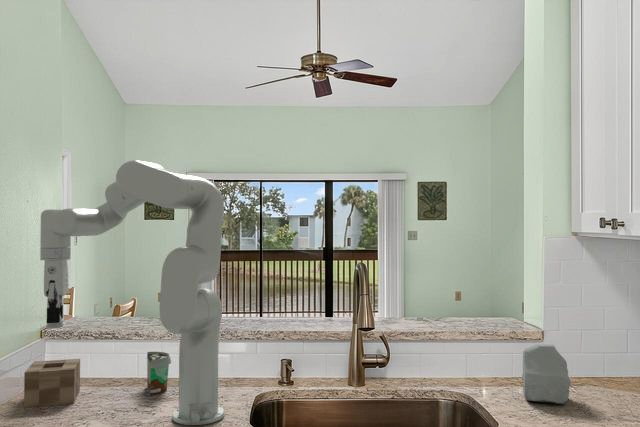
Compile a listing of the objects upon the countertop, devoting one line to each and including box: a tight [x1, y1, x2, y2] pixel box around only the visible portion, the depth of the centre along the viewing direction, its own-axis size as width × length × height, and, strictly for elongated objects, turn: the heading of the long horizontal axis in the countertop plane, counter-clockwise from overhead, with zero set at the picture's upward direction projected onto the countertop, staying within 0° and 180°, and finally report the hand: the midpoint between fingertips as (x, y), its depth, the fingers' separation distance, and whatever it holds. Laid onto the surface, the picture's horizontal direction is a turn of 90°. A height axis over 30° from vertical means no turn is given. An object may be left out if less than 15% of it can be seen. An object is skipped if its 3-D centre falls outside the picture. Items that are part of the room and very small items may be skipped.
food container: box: [146, 351, 172, 397], centre depth 161 cm, size 12×6×10 cm, turn 22°
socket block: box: [23, 358, 81, 408], centre depth 153 cm, size 12×12×9 cm
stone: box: [522, 343, 572, 405], centre depth 153 cm, size 12×12×15 cm
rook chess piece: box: [45, 298, 64, 330], centre depth 154 cm, size 4×4×8 cm
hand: (54, 320), depth 154 cm, fingers closed on rook chess piece, 4 cm apart
